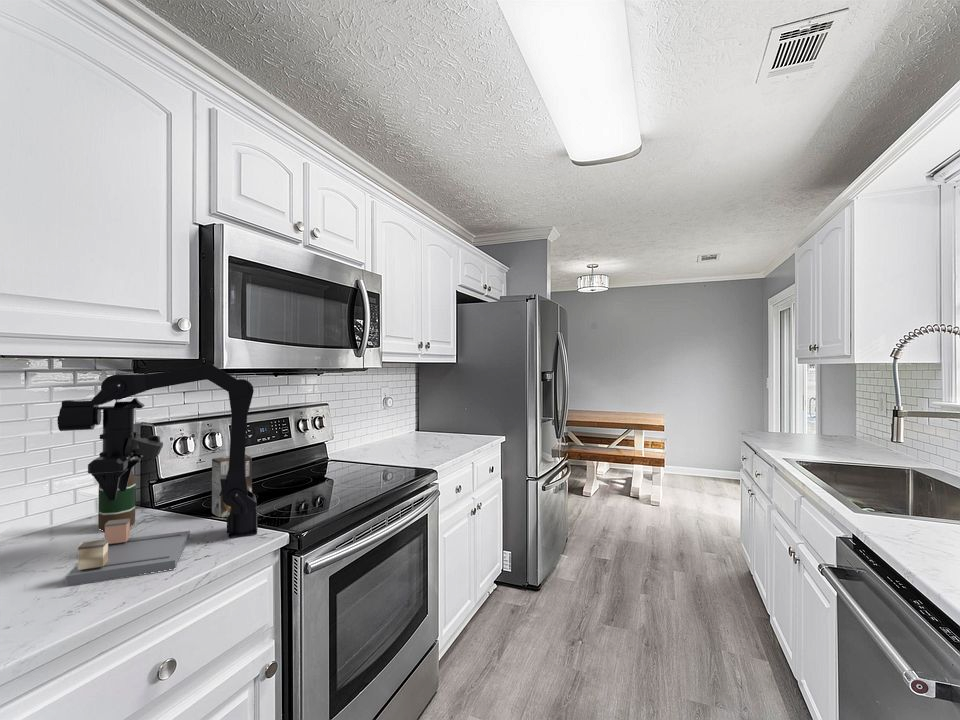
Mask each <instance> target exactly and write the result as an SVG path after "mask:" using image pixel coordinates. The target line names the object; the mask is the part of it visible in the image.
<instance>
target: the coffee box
mask: <svg viewBox="0 0 960 720" xmlns="http://www.w3.org/2000/svg"><path fill="white" fill-rule="evenodd" d="M252 460H253V459H252V456H250V455H248V454H245V465H244V470H245V476H246V483H247V489H248V490H249V491H250V492H252V493H253V478H252V477H253V472H252V471H253V469H252V466H253V463H252V462H253V461H252ZM228 467H229V455H228V456H221V457H216V458H212V459H211V513H212V514H213V515H215V516H216V517H217V518H220V517H222V518H225V517H226V518H227V516H228V514H230V508H231V507H230V506H227V505H226V504H225V503H224V502H223V499H222V495H221V496H219V491H220V487H221V481H220V477H221V474H223V475H226V474H227V471H228Z"/></svg>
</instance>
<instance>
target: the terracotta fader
mask: <svg viewBox="0 0 960 720" xmlns="http://www.w3.org/2000/svg"><path fill="white" fill-rule="evenodd" d="M104 527H105V532H104V540H105V539H108V544H113V543H121V542H126V541H127V540H128V539H129V538H131V527H130V518H128V519H119V520H110V521H108V522H107V523H106V524H105V525H104Z"/></svg>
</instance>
